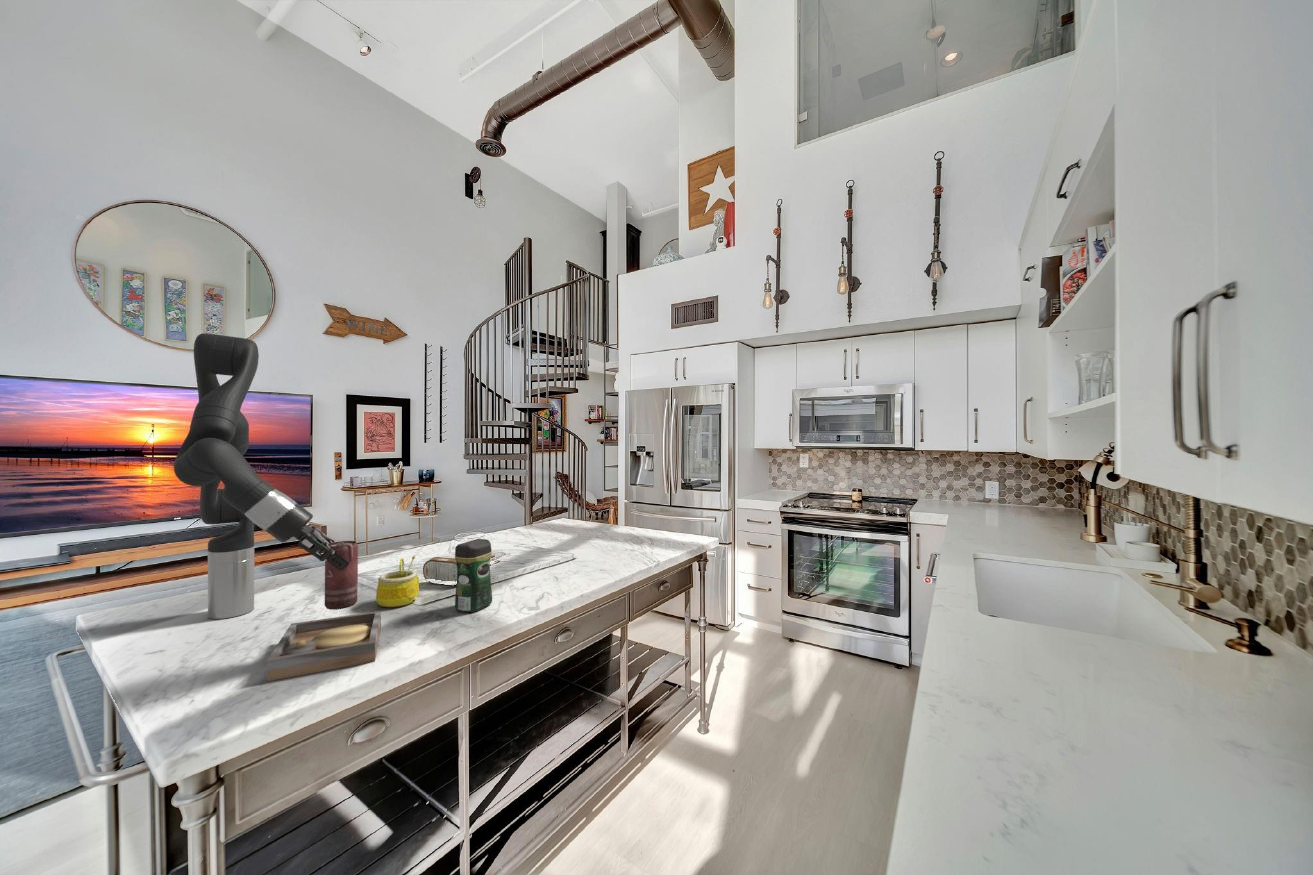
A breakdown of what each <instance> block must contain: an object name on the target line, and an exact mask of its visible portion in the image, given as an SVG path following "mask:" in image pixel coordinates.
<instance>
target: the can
mask: <svg viewBox="0 0 1313 875" xmlns="http://www.w3.org/2000/svg"><path fill="white" fill-rule="evenodd" d="M329 547H330V548H332V549H333V550H335V552H336V553H337V554H339V555H340V556H341V557H343V558H344V559H346V560H347V561H348V562H349V565H348V566H347V567H346V568H345V569H344V570H342V571H340V570H339V569H337V568H336V567H334V566H333V565H332V564H330V563H329V562H327V561H324V606H325V608H326V609H327V610H329V611H330V610H331V611H336V610H345V609H347V608H351V607H353V606H355V605H356V603H358V581H359V580H358V579H359V578H358V576H359V575H358V574H359V570H358V569H359V564H358V563H359V562H358V561H359V545H358V544H357V542H356V541H354V540H342V541H334V543H330V544H329Z"/></svg>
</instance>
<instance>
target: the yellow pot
mask: <svg viewBox="0 0 1313 875" xmlns="http://www.w3.org/2000/svg"><path fill="white" fill-rule="evenodd" d="M415 559H416V556H415V555H413V556H411V562H410V564H409V565H408V566H409V567H408V570H407V569H406V570H405V561H404V560H405V559H404V558H403V557H402V558H400V559H399V560H400V561H399V566H398V568H399V570H395V571H390V572H385V573H384V574H382V575H381V576H379V577H378V578H377V581H378V583H377V587H376V593H375V601H376V603H377V605H379V606H381V607H383V608H397V607H403V606H406V605H409V604H412V603H413V602H414V601H413V600H414V599H415V597H416V596H417V595H418V594H419V595H420V589H419V587H420V579H419V576H418V574H417V573H416V572H415V571H413V570H410V569H411V567H412V565H413V562H414V560H415ZM419 595H418V596H419Z"/></svg>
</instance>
